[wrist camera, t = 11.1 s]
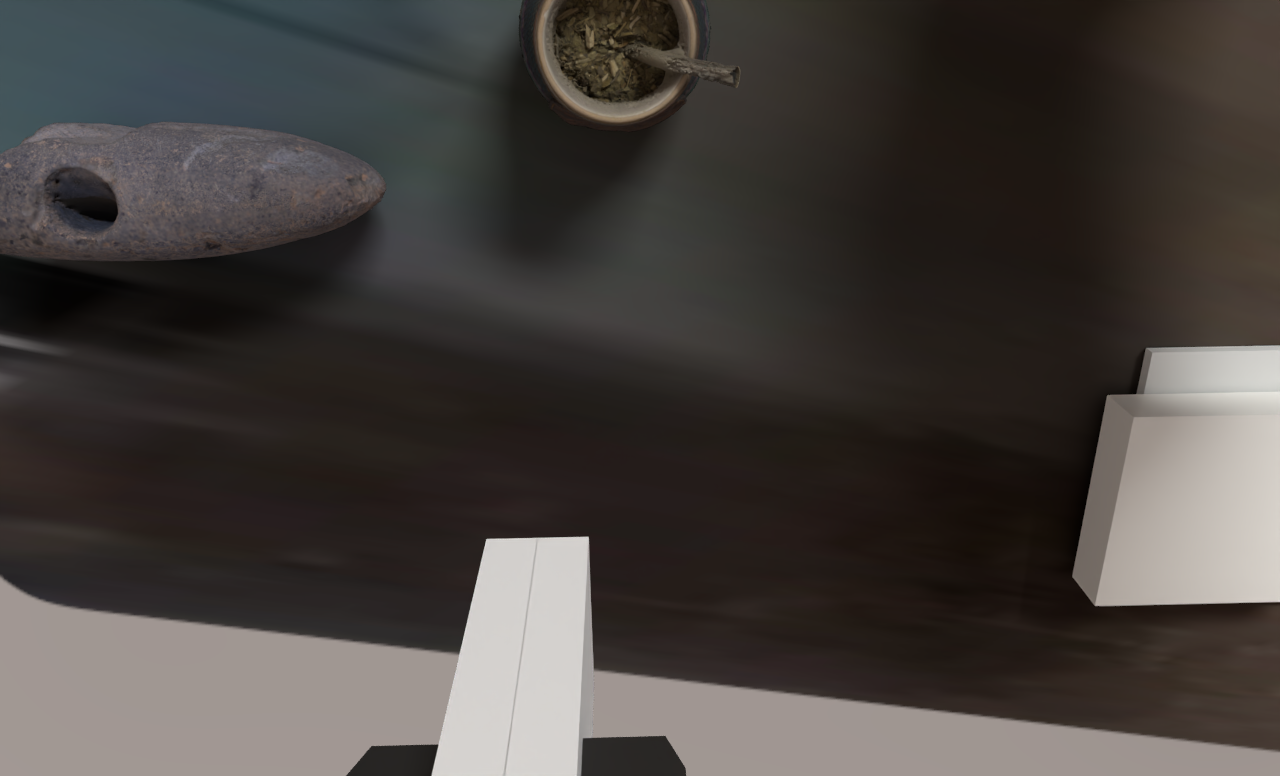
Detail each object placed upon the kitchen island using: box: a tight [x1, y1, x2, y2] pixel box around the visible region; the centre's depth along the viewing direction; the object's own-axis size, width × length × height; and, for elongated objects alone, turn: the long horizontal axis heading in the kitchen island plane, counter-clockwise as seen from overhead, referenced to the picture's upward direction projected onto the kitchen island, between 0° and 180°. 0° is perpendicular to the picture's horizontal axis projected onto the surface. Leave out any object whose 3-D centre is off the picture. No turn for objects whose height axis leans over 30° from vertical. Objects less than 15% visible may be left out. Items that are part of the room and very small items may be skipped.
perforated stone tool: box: [0, 122, 386, 261], centre depth 38 cm, size 15×5×7 cm, turn 88°
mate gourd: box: [519, 0, 740, 132], centre depth 34 cm, size 7×8×10 cm
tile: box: [1072, 392, 1280, 606], centre depth 46 cm, size 3×10×12 cm
